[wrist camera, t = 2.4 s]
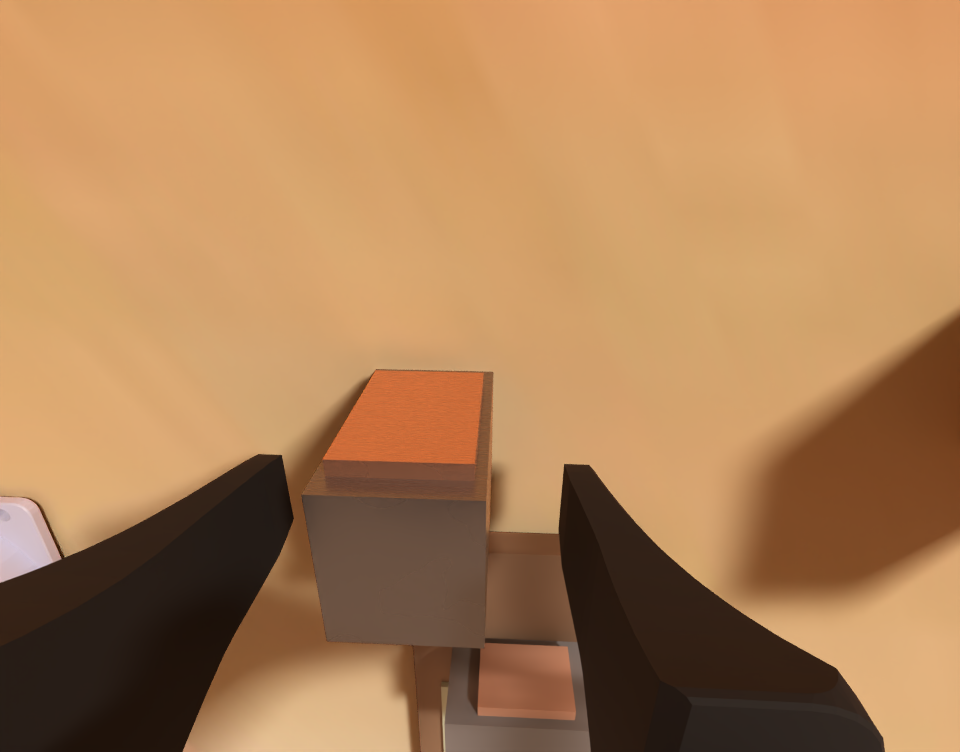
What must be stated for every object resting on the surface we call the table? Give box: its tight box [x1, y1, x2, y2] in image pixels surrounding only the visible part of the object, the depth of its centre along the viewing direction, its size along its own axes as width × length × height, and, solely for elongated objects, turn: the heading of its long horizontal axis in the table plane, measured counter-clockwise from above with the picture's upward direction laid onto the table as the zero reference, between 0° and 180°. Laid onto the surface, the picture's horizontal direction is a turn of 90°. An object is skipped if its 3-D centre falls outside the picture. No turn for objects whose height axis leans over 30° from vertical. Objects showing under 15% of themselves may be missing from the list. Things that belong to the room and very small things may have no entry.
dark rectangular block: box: [301, 369, 493, 648], centre depth 13 cm, size 4×4×6 cm
